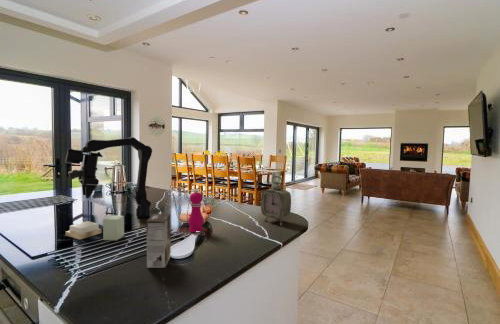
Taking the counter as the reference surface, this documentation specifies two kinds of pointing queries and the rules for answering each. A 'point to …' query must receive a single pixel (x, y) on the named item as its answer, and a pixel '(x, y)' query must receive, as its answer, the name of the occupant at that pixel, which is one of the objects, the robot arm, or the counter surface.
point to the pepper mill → (196, 212)
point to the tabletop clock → (276, 202)
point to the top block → (84, 227)
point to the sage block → (113, 227)
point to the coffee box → (158, 240)
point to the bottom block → (82, 236)
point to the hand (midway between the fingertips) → (85, 196)
